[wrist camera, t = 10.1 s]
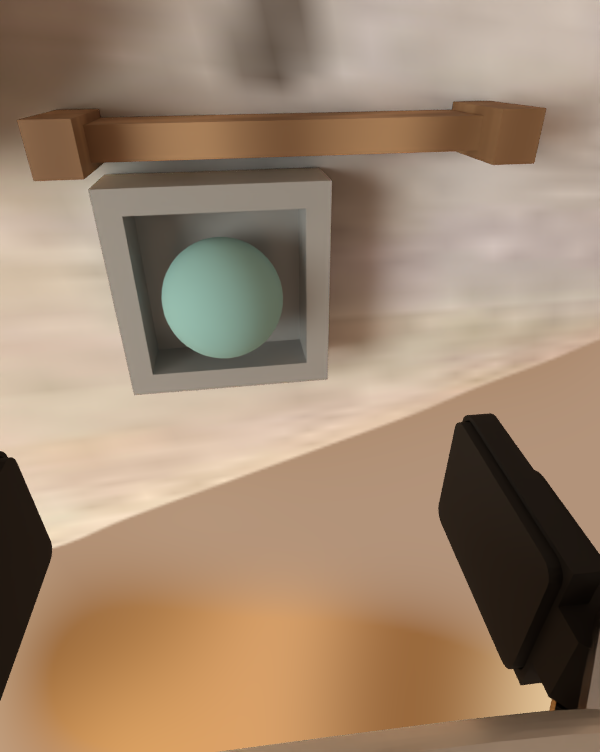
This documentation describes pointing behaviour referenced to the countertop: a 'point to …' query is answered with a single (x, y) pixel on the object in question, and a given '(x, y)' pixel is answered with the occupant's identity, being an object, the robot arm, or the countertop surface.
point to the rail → (276, 136)
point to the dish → (207, 220)
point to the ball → (222, 297)
